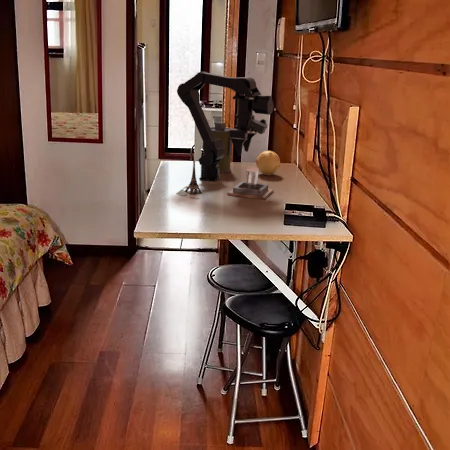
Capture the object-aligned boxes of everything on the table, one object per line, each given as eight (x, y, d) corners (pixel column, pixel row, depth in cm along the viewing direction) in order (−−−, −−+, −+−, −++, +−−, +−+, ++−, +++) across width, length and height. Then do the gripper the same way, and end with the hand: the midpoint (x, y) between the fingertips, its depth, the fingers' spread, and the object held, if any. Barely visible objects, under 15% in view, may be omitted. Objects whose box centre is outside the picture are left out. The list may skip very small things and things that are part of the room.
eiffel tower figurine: (185, 187, 213) (186, 152, 209) (211, 190, 211) (212, 155, 207) (172, 197, 199) (172, 160, 195) (199, 200, 197) (200, 163, 193)
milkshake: (242, 189, 208) (243, 162, 205) (256, 189, 209) (258, 163, 206) (243, 192, 204) (245, 165, 201) (258, 192, 205) (260, 165, 201)
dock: (227, 194, 204) (227, 187, 203) (237, 187, 214) (237, 180, 214) (264, 199, 199) (265, 192, 199) (273, 191, 210) (273, 184, 209)
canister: (201, 169, 239) (202, 122, 233) (215, 165, 248) (216, 119, 241) (223, 173, 234) (225, 125, 227) (236, 169, 242) (238, 122, 236)
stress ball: (261, 173, 241) (247, 160, 235) (276, 156, 240) (263, 142, 234) (272, 182, 233) (259, 169, 227) (288, 164, 233) (275, 151, 226)
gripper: (259, 116, 199) (256, 160, 204) (272, 111, 216) (269, 151, 221) (229, 114, 203) (227, 157, 208) (244, 108, 219) (242, 148, 224)
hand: (243, 153), depth 215 cm, fingers open, 9 cm apart
